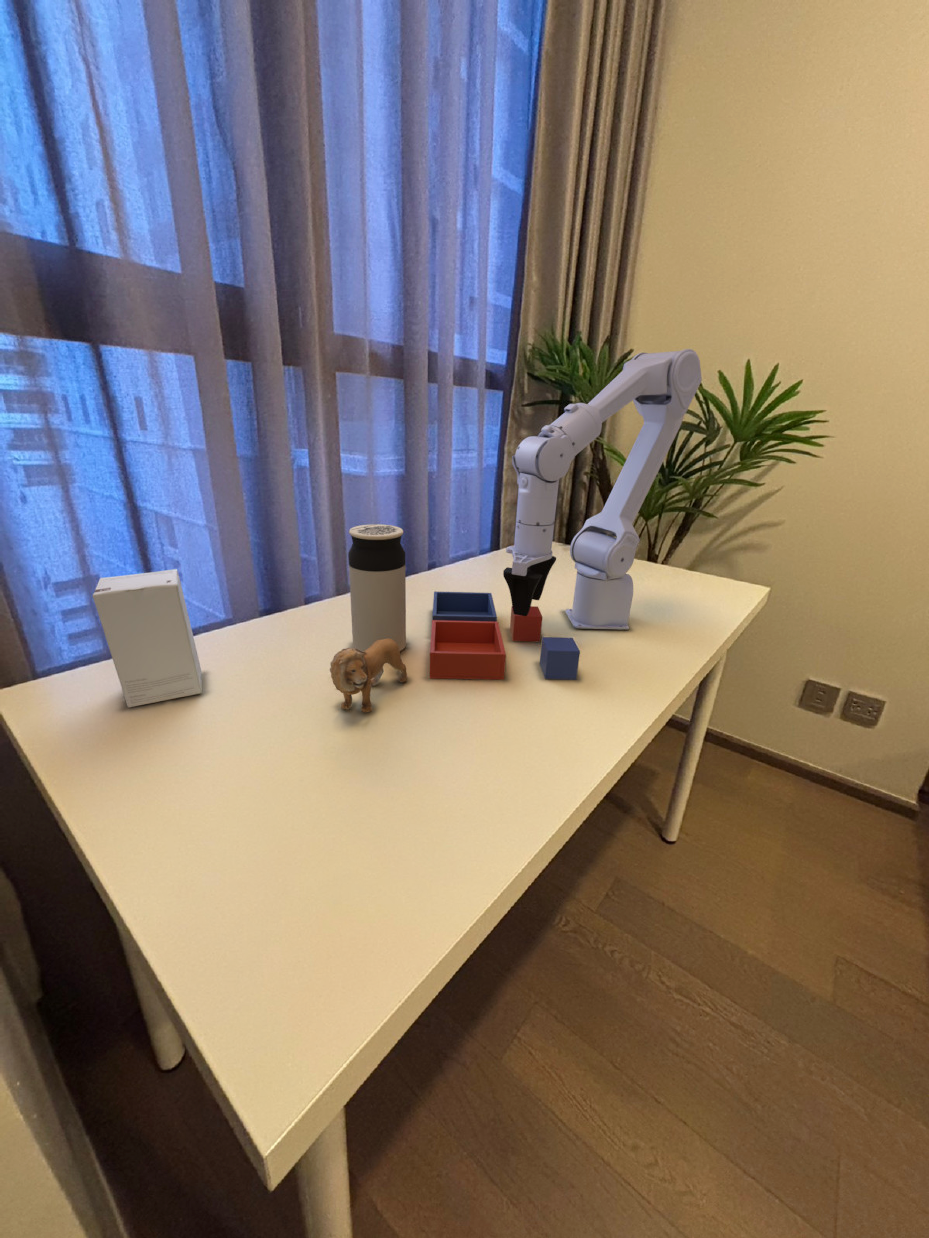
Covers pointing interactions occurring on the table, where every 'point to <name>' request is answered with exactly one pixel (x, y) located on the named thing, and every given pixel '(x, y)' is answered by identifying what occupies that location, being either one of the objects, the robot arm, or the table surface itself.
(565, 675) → the blue block
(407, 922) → the table surface
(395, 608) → the travel mug
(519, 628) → the red block
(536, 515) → the robot arm
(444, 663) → the red bin
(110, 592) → the cosmetic box
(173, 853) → the table surface
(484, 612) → the blue bin
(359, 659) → the lion figurine
